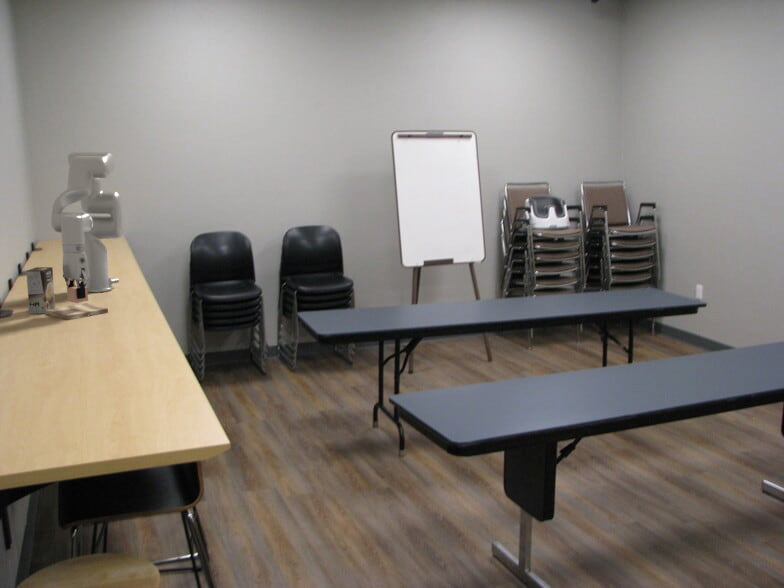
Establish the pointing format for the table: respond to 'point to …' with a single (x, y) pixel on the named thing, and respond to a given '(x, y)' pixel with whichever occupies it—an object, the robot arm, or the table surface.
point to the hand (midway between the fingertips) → (76, 296)
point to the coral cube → (75, 295)
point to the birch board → (77, 311)
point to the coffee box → (40, 289)
